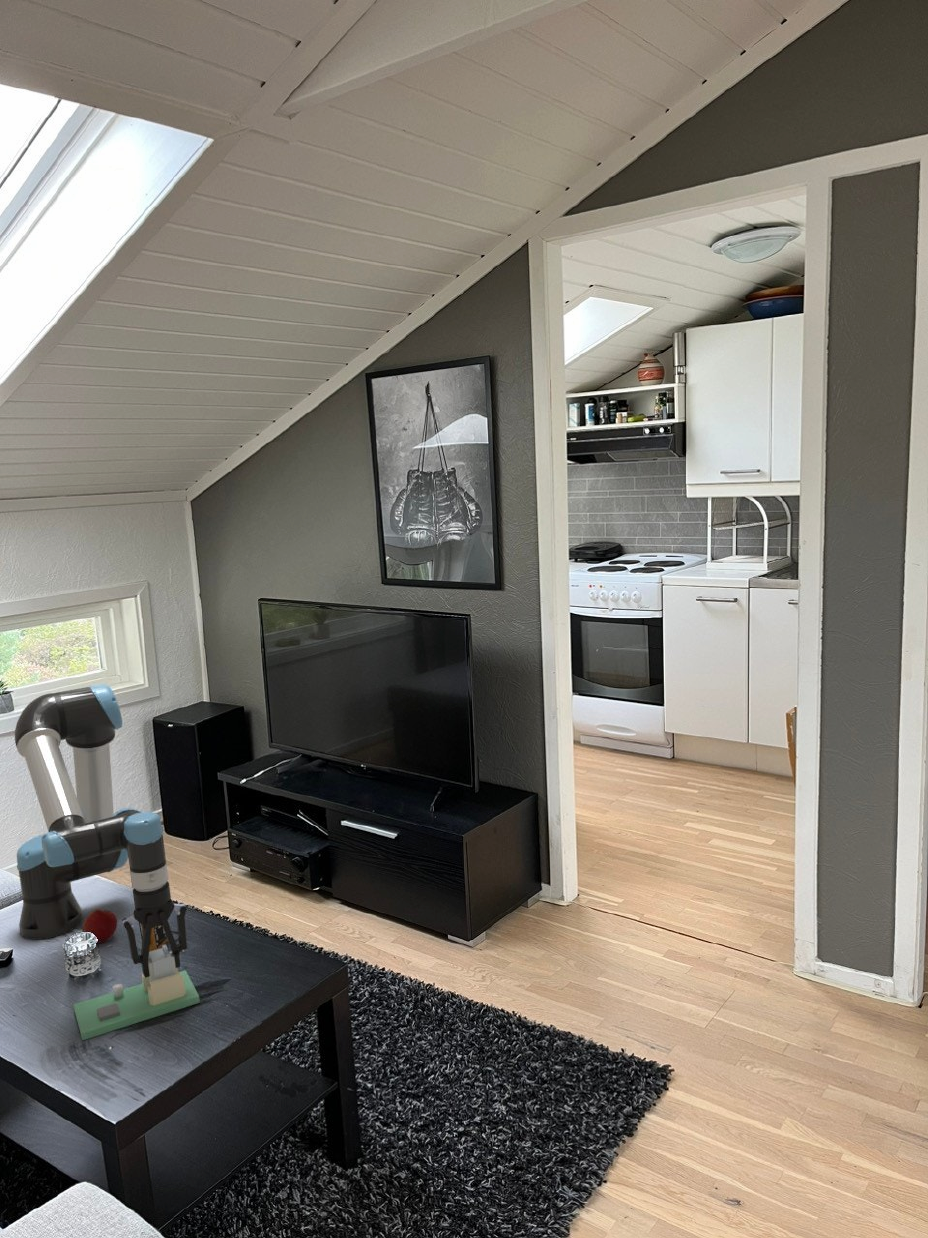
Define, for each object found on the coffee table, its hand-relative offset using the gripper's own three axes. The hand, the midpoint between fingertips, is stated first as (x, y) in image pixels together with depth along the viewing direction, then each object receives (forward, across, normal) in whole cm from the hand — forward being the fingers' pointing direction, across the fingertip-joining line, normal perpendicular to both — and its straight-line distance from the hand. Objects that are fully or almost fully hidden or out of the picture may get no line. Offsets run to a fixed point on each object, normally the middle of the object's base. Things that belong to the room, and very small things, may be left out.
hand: (163, 985), depth 209 cm
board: (+3, -6, 0) cm, 7 cm away
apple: (+3, -8, +37) cm, 38 cm away
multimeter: (+3, +6, +23) cm, 24 cm away
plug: (+1, 0, 0) cm, 1 cm away
